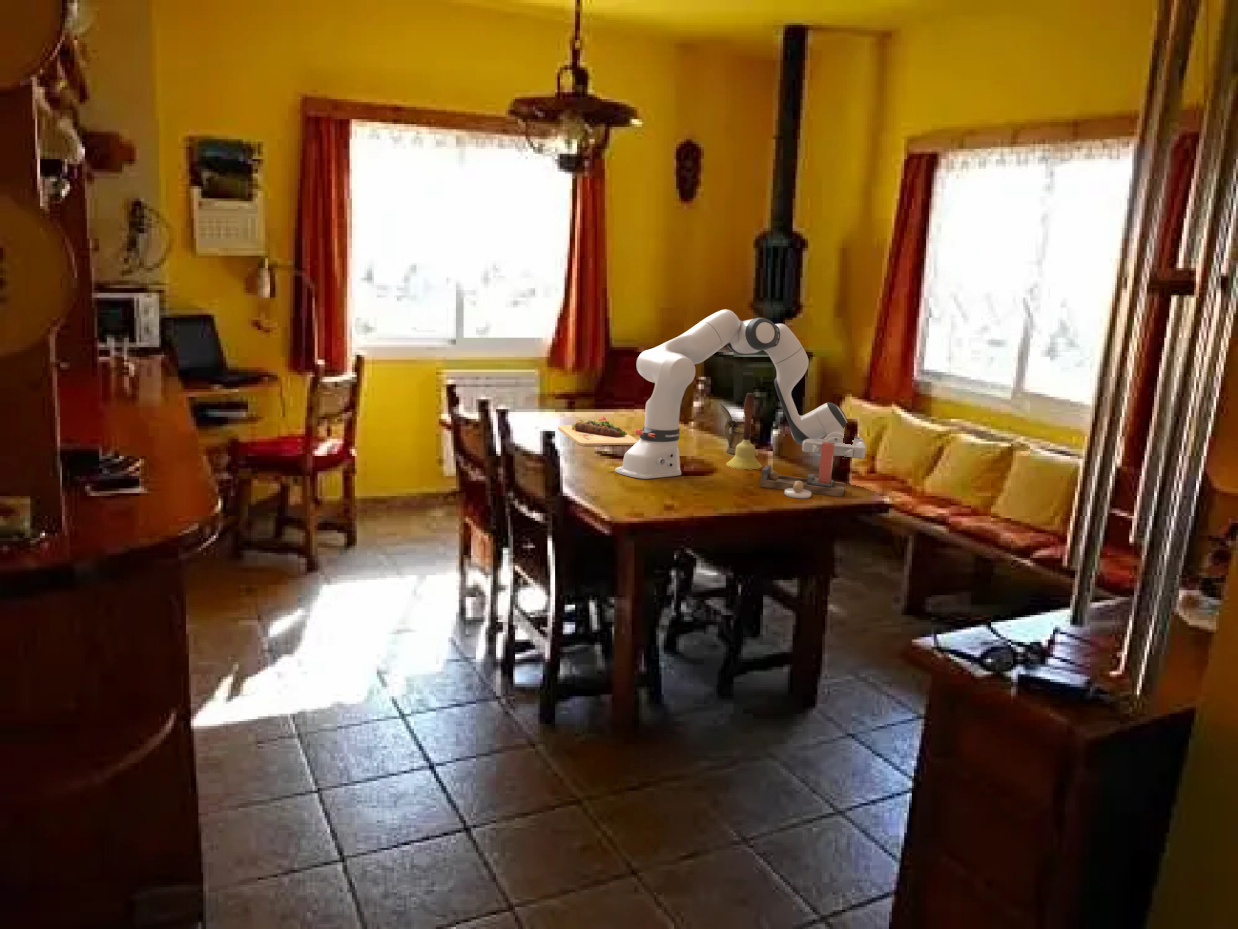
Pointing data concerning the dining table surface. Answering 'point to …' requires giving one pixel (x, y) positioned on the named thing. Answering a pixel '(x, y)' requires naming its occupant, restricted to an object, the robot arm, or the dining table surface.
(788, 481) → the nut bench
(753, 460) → the handbell
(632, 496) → the dining table surface
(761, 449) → the dining table surface
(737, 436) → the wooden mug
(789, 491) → the nut dish
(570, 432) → the cutting board
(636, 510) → the dining table surface
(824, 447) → the jaw slider
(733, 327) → the robot arm
